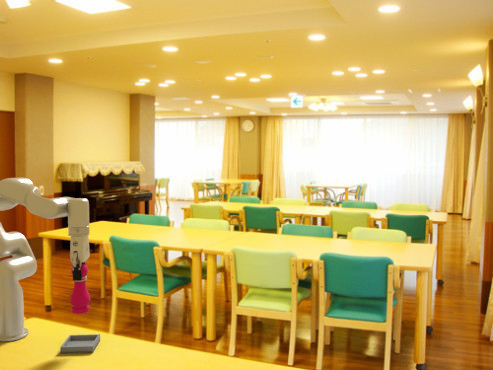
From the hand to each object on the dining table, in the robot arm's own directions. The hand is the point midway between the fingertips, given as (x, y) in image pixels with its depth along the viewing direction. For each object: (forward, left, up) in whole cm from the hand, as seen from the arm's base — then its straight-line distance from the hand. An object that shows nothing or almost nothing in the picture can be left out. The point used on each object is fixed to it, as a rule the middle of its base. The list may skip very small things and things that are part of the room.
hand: (79, 277), depth 180 cm
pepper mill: (0, 0, -13) cm, 13 cm away
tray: (0, 0, -27) cm, 27 cm away
